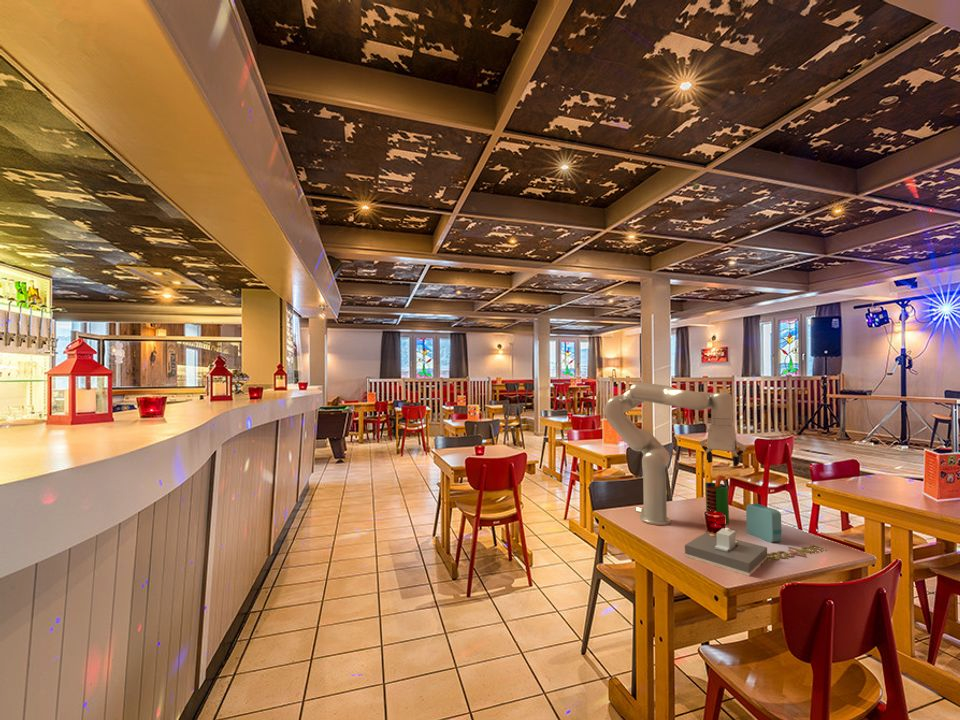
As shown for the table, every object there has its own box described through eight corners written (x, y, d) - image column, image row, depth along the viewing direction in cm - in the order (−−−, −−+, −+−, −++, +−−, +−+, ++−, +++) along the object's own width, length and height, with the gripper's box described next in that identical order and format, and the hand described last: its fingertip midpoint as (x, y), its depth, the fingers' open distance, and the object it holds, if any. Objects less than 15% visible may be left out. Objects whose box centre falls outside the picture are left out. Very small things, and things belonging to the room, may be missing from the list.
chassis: (685, 556, 151) (684, 544, 151) (706, 542, 164) (706, 531, 165) (749, 576, 136) (748, 562, 136) (767, 558, 149) (767, 546, 150)
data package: (782, 542, 165) (781, 511, 165) (772, 543, 164) (772, 512, 164) (755, 531, 176) (754, 502, 177) (746, 532, 175) (745, 503, 176)
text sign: (732, 559, 150) (753, 568, 142) (732, 557, 150) (752, 566, 142) (809, 545, 163) (832, 553, 156) (809, 543, 163) (832, 551, 156)
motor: (700, 517, 194) (699, 473, 195) (717, 516, 196) (716, 472, 197) (717, 525, 184) (716, 478, 185) (734, 523, 186) (733, 477, 187)
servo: (714, 557, 148) (714, 532, 148) (725, 548, 156) (724, 524, 156) (727, 561, 145) (726, 535, 145) (737, 551, 153) (737, 527, 153)
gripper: (696, 421, 180) (696, 462, 179) (742, 424, 167) (743, 468, 166) (703, 420, 185) (703, 460, 184) (748, 423, 172) (749, 466, 171)
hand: (722, 464), depth 175 cm, fingers open, 9 cm apart
